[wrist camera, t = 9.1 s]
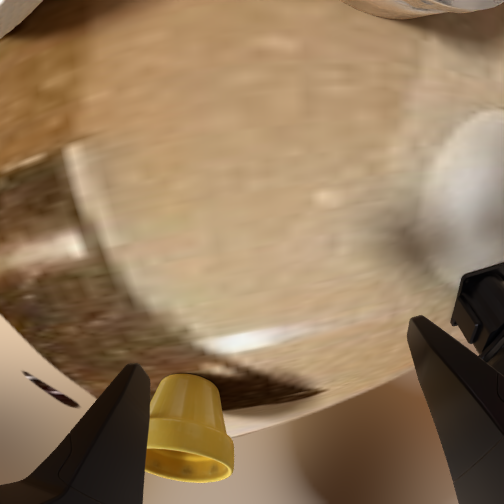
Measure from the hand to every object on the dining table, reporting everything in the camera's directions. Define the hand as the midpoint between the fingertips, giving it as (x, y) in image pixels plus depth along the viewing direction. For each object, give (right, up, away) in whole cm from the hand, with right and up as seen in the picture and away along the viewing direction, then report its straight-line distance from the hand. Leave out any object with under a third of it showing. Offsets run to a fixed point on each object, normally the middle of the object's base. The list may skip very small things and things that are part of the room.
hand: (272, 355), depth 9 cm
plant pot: (-8, -12, +23) cm, 27 cm away
